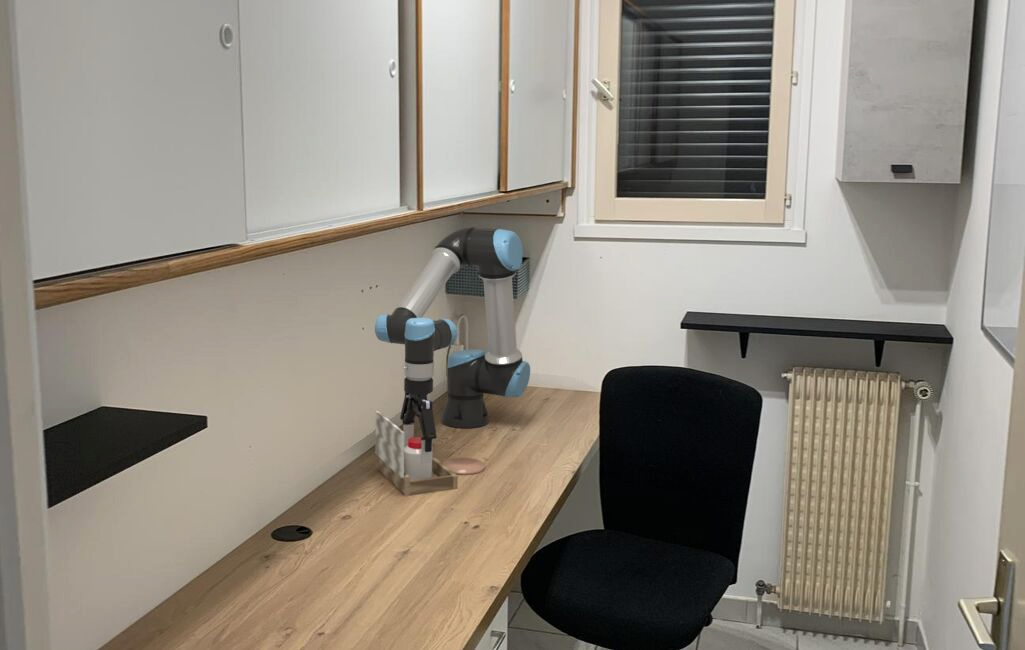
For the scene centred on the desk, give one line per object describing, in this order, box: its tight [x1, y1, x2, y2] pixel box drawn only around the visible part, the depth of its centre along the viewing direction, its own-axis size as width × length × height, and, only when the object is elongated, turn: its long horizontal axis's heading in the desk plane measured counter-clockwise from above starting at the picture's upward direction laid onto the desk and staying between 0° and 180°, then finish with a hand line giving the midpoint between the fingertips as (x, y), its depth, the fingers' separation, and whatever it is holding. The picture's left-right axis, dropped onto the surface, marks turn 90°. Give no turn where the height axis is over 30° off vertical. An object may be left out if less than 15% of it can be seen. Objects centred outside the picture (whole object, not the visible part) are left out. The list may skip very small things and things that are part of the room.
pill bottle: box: [404, 436, 433, 481], centre depth 260 cm, size 8×8×11 cm
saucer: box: [442, 457, 486, 476], centre depth 271 cm, size 12×12×1 cm
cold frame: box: [374, 410, 459, 497], centre depth 259 cm, size 20×16×17 cm
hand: (417, 455), depth 259 cm, fingers open, 13 cm apart
